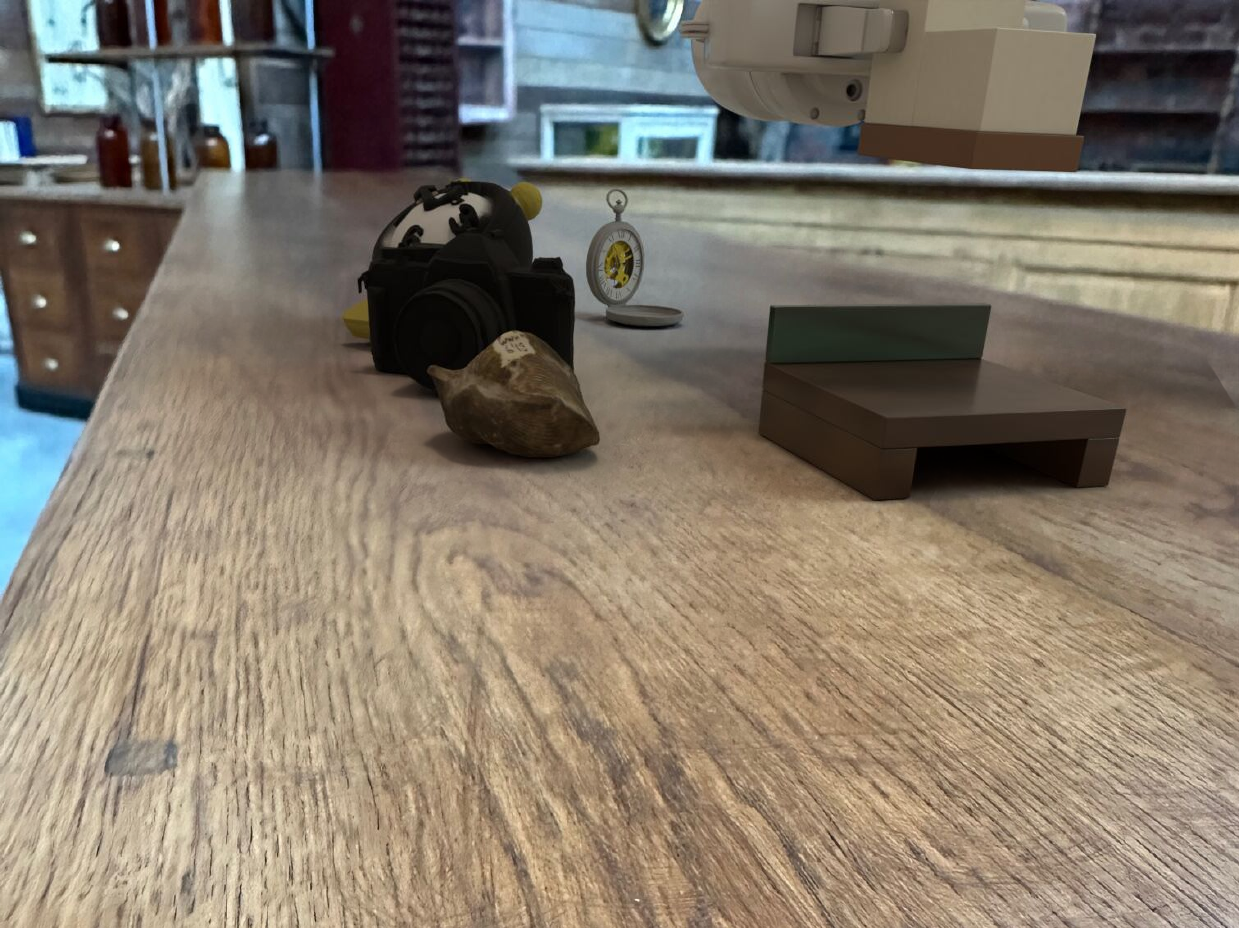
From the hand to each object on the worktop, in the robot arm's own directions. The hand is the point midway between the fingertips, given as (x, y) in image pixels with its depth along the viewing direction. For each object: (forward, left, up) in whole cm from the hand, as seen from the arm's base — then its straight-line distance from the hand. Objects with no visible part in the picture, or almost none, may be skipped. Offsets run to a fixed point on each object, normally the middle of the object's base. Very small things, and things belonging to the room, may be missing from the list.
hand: (956, 34), depth 61 cm
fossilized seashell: (+14, +17, -20) cm, 30 cm away
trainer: (-2, +1, -6) cm, 6 cm away
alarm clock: (+41, -5, -20) cm, 46 cm away
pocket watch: (+36, -23, -20) cm, 47 cm away
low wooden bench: (-3, +2, -20) cm, 20 cm away
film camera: (+28, +7, -20) cm, 35 cm away
